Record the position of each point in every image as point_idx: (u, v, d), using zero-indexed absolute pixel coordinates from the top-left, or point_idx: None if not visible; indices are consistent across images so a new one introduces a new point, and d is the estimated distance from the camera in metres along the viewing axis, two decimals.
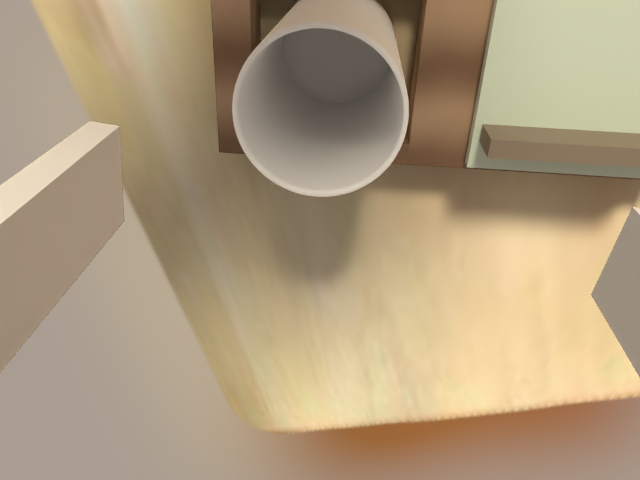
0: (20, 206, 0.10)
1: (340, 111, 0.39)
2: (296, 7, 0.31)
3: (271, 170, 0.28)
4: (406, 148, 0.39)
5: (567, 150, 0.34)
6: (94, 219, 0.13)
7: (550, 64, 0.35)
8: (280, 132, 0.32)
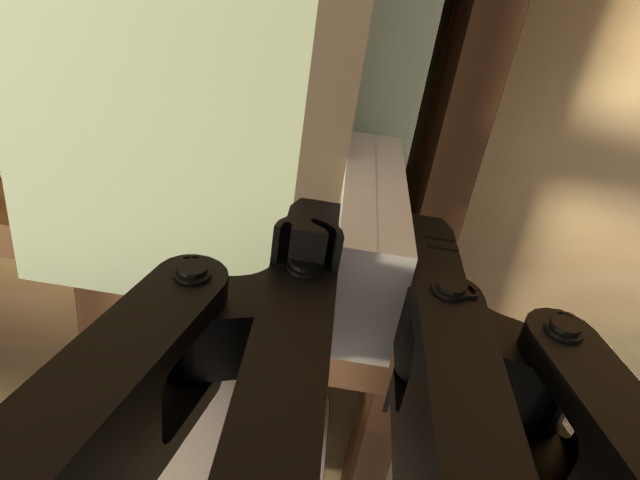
0: (377, 204, 0.12)
1: None
2: None
3: None
4: (381, 397, 0.23)
5: None
6: None
7: (177, 209, 0.18)
8: None
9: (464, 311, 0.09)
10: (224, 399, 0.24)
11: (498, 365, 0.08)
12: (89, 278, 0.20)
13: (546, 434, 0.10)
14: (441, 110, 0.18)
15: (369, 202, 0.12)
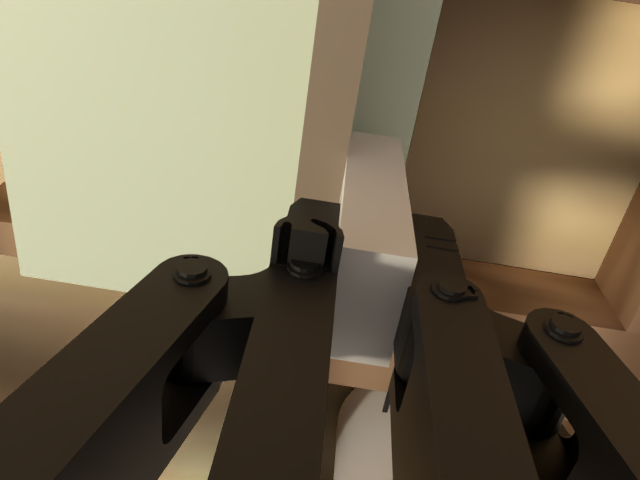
0: (377, 204, 0.12)
1: None
2: None
3: None
4: None
5: None
6: None
7: (178, 206, 0.19)
8: None
9: (464, 311, 0.09)
10: None
11: (498, 365, 0.08)
12: (91, 275, 0.20)
13: (545, 434, 0.10)
14: None
15: (369, 202, 0.12)
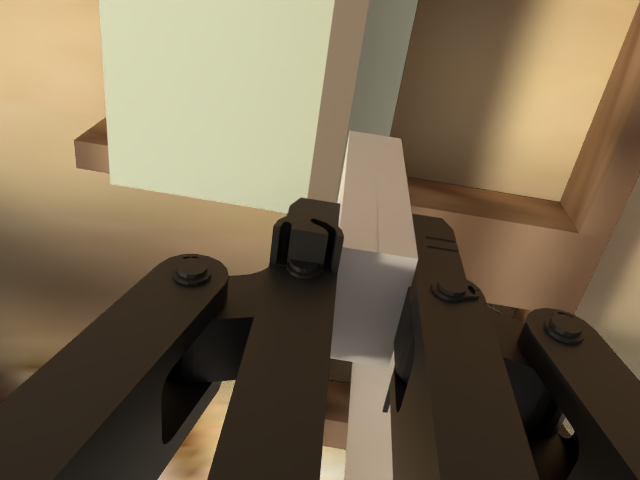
0: (377, 204, 0.12)
1: None
2: None
3: None
4: None
5: (325, 139, 0.22)
6: None
7: (232, 127, 0.25)
8: None
9: (464, 311, 0.09)
10: None
11: (498, 365, 0.08)
12: (163, 183, 0.27)
13: (546, 434, 0.10)
14: (631, 89, 0.25)
15: (369, 202, 0.12)
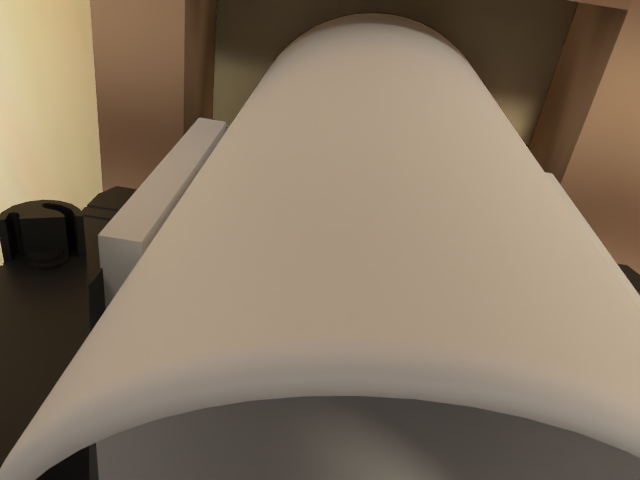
0: (176, 191, 0.11)
1: None
2: (294, 83, 0.11)
3: None
4: None
5: None
6: None
7: None
8: (222, 410, 0.12)
9: None
10: None
11: None
12: None
13: None
14: None
15: None
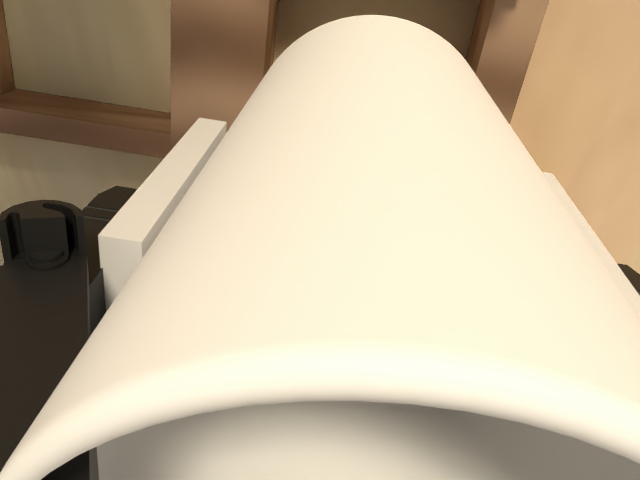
0: (176, 191, 0.11)
1: None
2: (294, 86, 0.11)
3: None
4: (168, 139, 0.32)
5: None
6: None
7: None
8: (222, 412, 0.12)
9: None
10: None
11: None
12: None
13: None
14: None
15: None
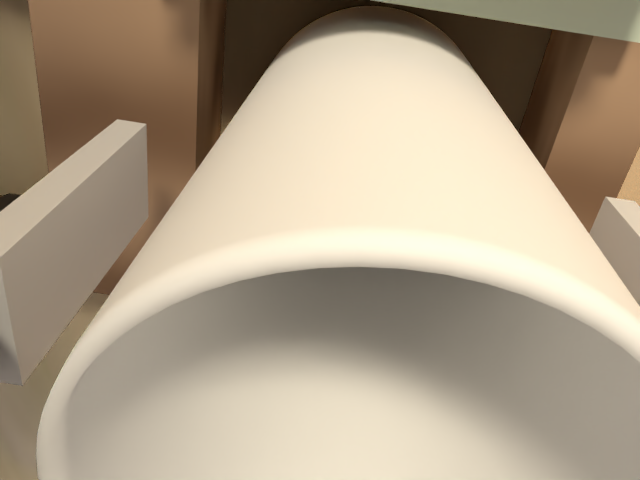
0: (60, 201, 0.10)
1: None
2: (301, 64, 0.12)
3: None
4: None
5: None
6: (123, 215, 0.14)
7: None
8: (235, 361, 0.13)
9: None
10: None
11: None
12: None
13: None
14: None
15: None
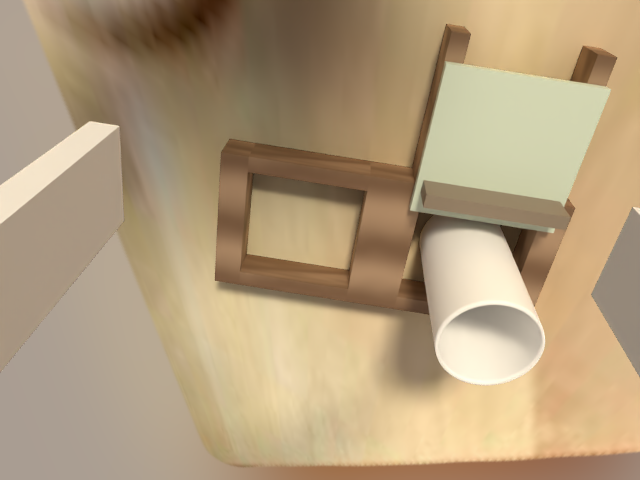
0: (20, 206, 0.10)
1: None
2: (459, 246, 0.48)
3: (448, 365, 0.45)
4: (346, 291, 0.56)
5: (481, 207, 0.46)
6: (94, 219, 0.13)
7: (475, 142, 0.46)
8: None
9: None
10: None
11: None
12: (444, 98, 0.45)
13: None
14: None
15: None
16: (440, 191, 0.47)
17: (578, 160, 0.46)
